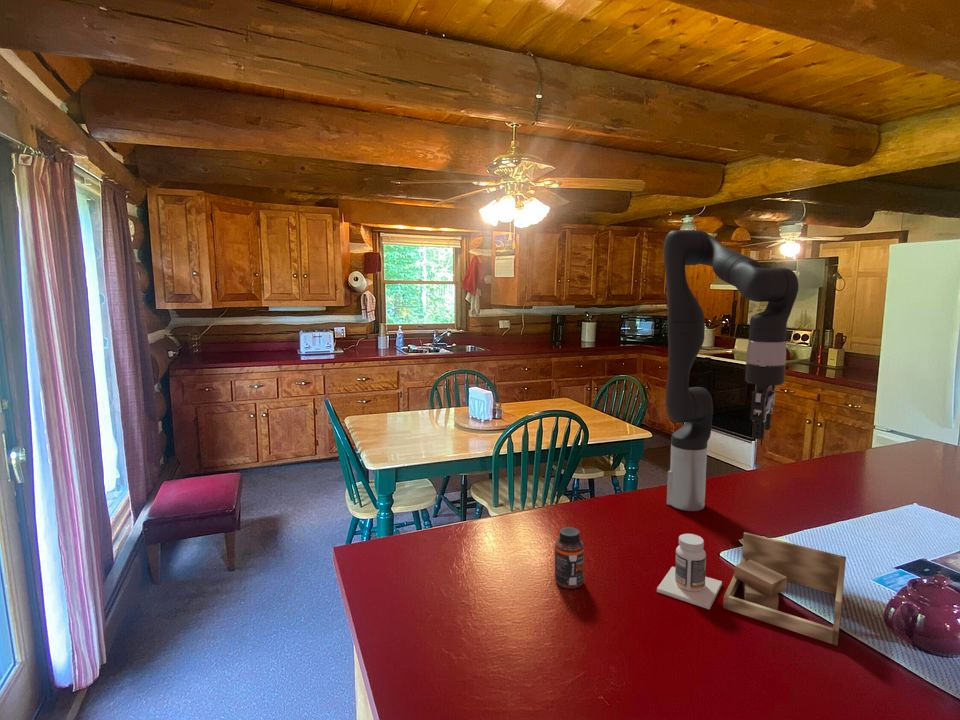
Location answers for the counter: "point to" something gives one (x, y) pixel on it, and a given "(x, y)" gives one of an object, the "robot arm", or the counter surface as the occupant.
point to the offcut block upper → (760, 577)
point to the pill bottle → (690, 563)
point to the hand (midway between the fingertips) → (761, 433)
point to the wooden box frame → (798, 568)
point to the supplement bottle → (569, 559)
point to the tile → (694, 597)
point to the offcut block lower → (760, 597)
